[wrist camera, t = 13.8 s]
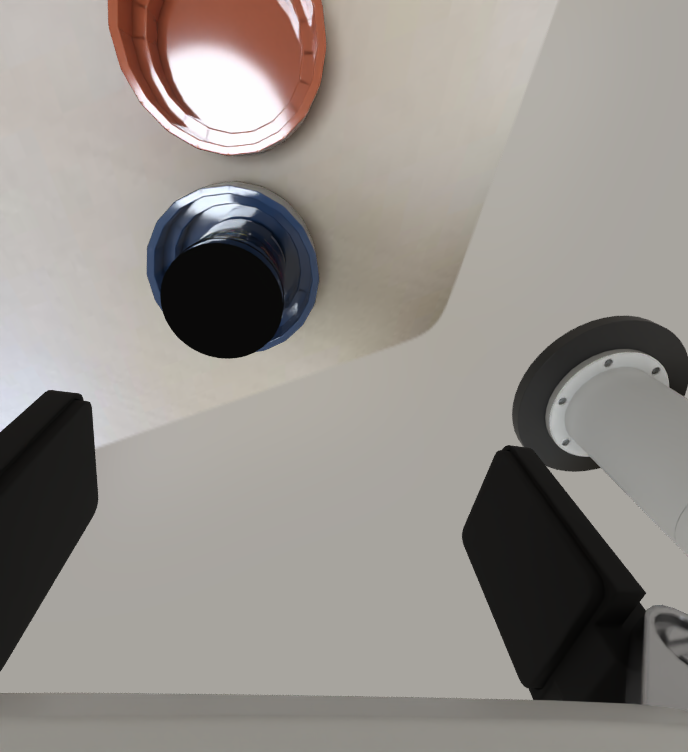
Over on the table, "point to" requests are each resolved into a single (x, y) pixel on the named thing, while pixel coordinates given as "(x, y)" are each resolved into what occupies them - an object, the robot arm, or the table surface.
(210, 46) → the terracotta bowl
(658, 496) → the robot arm
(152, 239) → the slate-blue bowl
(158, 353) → the table surface
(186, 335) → the supplement container
